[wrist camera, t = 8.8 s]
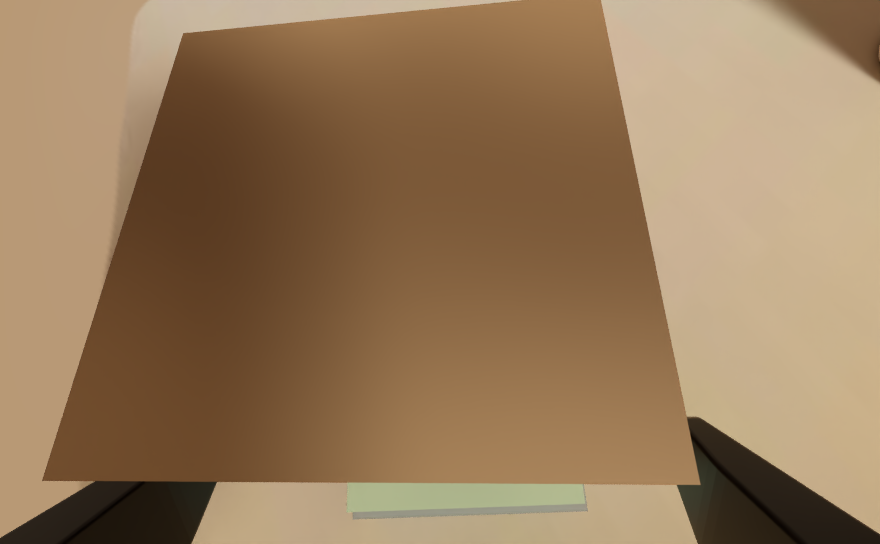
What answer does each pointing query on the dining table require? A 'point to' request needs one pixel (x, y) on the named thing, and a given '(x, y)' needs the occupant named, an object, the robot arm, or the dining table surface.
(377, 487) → the tower top slab
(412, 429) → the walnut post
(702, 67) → the dining table surface
